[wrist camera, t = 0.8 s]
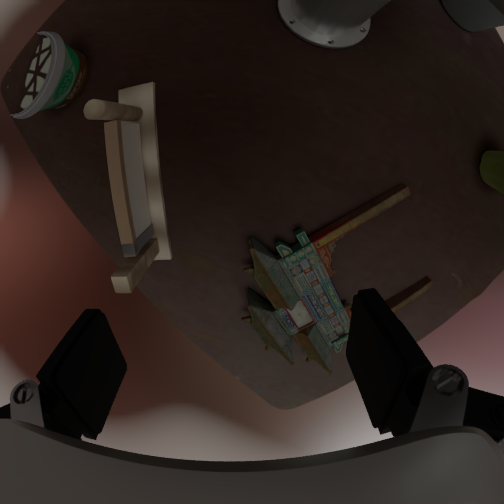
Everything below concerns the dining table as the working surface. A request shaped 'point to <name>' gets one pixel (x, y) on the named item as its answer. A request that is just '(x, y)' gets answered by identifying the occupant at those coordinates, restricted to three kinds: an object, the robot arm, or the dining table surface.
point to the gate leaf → (128, 185)
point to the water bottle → (474, 14)
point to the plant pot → (493, 169)
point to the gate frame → (144, 112)
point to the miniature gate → (312, 287)
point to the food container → (52, 76)
